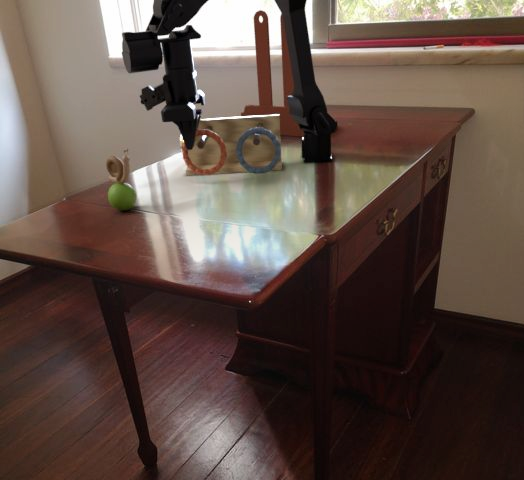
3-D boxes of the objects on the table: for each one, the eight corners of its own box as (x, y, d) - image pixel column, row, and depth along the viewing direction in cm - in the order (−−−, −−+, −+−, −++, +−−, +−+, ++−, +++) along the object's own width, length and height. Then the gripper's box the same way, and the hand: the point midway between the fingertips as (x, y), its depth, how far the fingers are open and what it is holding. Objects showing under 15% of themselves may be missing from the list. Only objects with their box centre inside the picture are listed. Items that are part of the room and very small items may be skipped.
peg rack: (281, 162, 131) (279, 113, 125) (280, 184, 117) (278, 130, 111) (190, 168, 133) (183, 119, 127) (178, 190, 119) (170, 136, 113)
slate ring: (281, 171, 120) (279, 125, 115) (281, 173, 119) (279, 127, 114) (238, 173, 121) (234, 128, 116) (238, 175, 120) (234, 129, 115)
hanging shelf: (337, 126, 159) (338, 4, 142) (316, 137, 150) (314, 7, 134) (266, 122, 171) (259, 8, 154) (242, 132, 162) (232, 12, 145)
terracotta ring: (228, 172, 121) (224, 127, 116) (228, 174, 120) (223, 128, 115) (186, 175, 121) (179, 130, 116) (185, 176, 120) (178, 131, 115)
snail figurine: (129, 216, 107) (116, 152, 100) (105, 212, 110) (91, 150, 103) (148, 207, 110) (136, 145, 104) (124, 203, 114) (112, 143, 107)
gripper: (149, 64, 117) (161, 140, 126) (127, 76, 102) (143, 163, 110) (201, 60, 117) (210, 137, 125) (187, 72, 101) (198, 159, 110)
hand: (190, 148), depth 118 cm, fingers closed on terracotta ring, 1 cm apart
